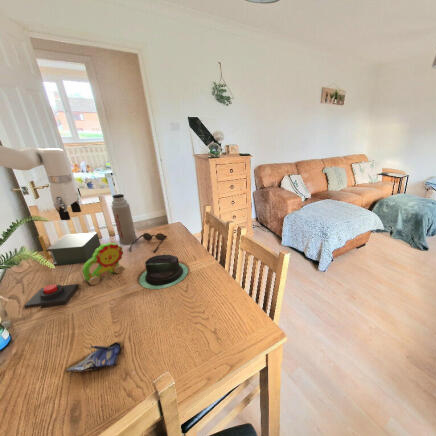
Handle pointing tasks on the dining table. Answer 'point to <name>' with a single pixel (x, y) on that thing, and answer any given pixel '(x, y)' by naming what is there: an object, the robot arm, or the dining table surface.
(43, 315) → the dining table surface
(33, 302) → the control block
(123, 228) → the thermos bottle
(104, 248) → the toy lion
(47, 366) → the dining table surface
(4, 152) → the robot arm
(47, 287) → the red button
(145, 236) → the eyeglasses
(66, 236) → the dark green box
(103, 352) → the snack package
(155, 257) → the black fedora hat
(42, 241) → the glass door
